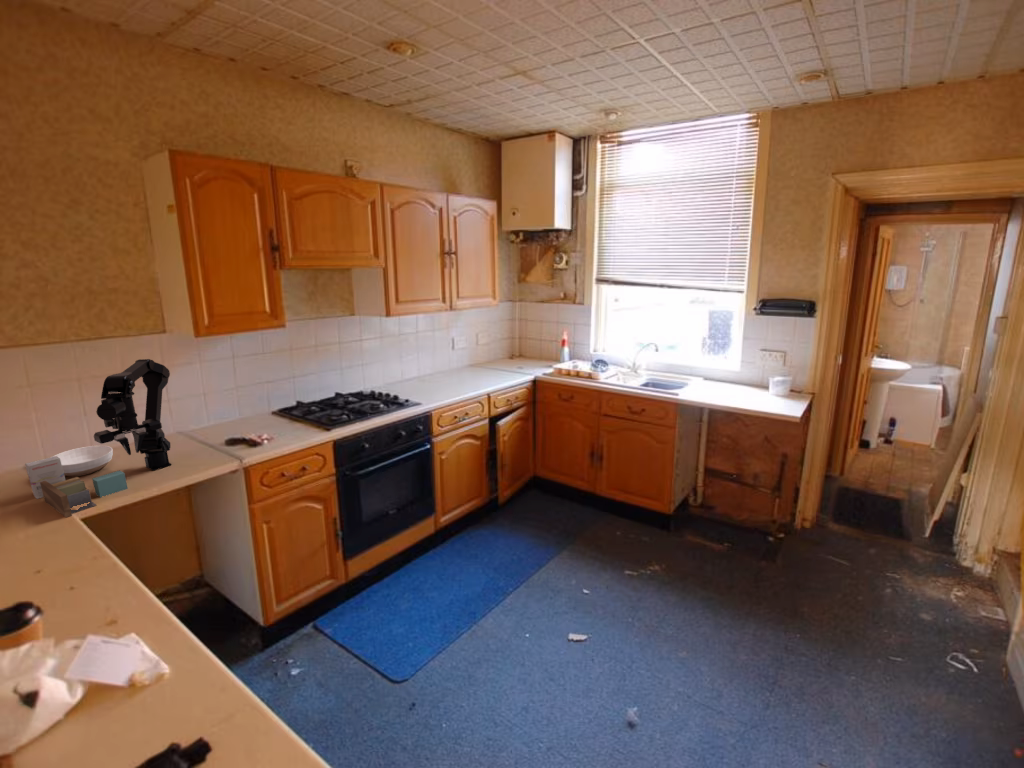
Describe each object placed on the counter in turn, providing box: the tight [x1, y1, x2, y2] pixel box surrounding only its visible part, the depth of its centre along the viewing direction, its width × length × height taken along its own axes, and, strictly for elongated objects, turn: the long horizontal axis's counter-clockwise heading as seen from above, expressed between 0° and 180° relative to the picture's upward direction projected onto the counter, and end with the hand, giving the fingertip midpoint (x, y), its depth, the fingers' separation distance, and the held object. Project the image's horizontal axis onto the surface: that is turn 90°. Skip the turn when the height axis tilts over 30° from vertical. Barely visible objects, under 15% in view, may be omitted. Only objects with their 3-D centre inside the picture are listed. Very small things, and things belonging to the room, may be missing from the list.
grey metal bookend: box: [67, 488, 97, 515], centre depth 172 cm, size 7×5×4 cm, turn 145°
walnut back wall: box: [40, 481, 73, 518], centre depth 171 cm, size 2×19×7 cm, turn 55°
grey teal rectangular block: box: [91, 469, 128, 498], centre depth 183 cm, size 8×4×6 cm, turn 146°
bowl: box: [51, 445, 114, 477], centre depth 201 cm, size 20×20×6 cm
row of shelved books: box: [51, 476, 87, 496], centre depth 178 cm, size 8×6×6 cm
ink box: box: [24, 455, 66, 500], centre depth 182 cm, size 9×5×12 cm, turn 141°
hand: (133, 453), depth 187 cm, fingers open, 2 cm apart
